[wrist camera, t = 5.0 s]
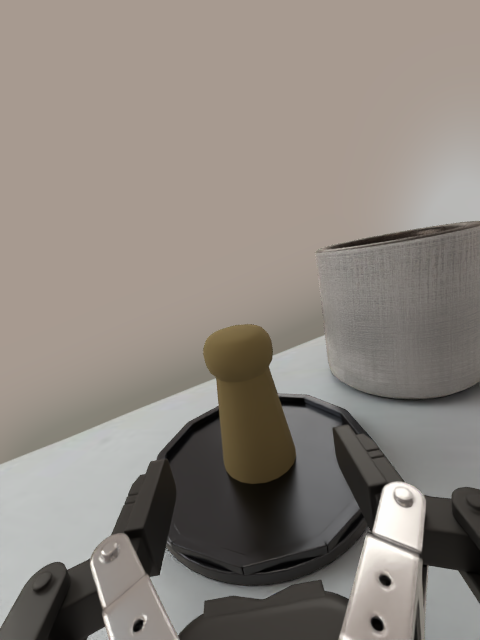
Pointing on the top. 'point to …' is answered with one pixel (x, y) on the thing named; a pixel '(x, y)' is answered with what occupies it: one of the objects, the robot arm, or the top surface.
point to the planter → (404, 311)
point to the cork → (249, 405)
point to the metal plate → (263, 501)
